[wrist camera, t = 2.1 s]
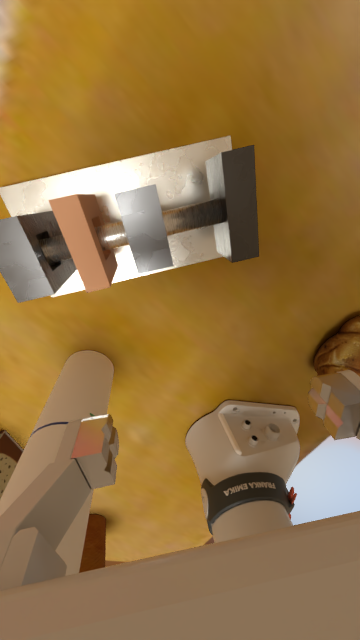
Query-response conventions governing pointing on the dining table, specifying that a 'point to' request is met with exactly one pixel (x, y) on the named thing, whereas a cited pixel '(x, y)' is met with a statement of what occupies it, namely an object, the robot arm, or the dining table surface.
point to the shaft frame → (110, 218)
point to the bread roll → (340, 350)
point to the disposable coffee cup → (94, 544)
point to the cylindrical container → (41, 449)
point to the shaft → (200, 212)
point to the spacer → (85, 239)
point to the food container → (8, 458)
